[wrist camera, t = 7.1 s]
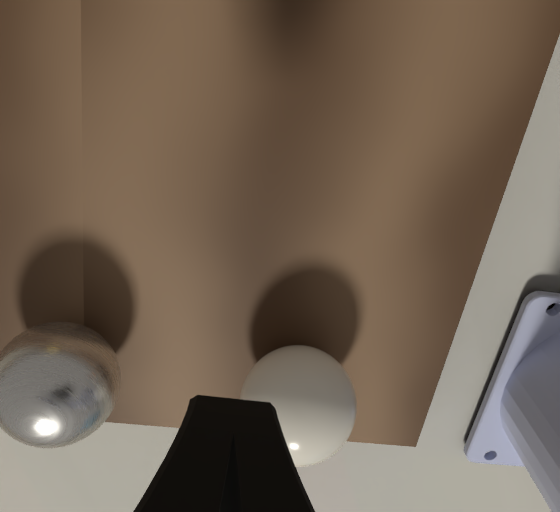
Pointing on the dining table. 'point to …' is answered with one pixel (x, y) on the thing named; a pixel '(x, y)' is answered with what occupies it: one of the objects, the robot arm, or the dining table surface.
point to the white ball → (305, 400)
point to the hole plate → (260, 184)
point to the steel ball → (57, 384)
